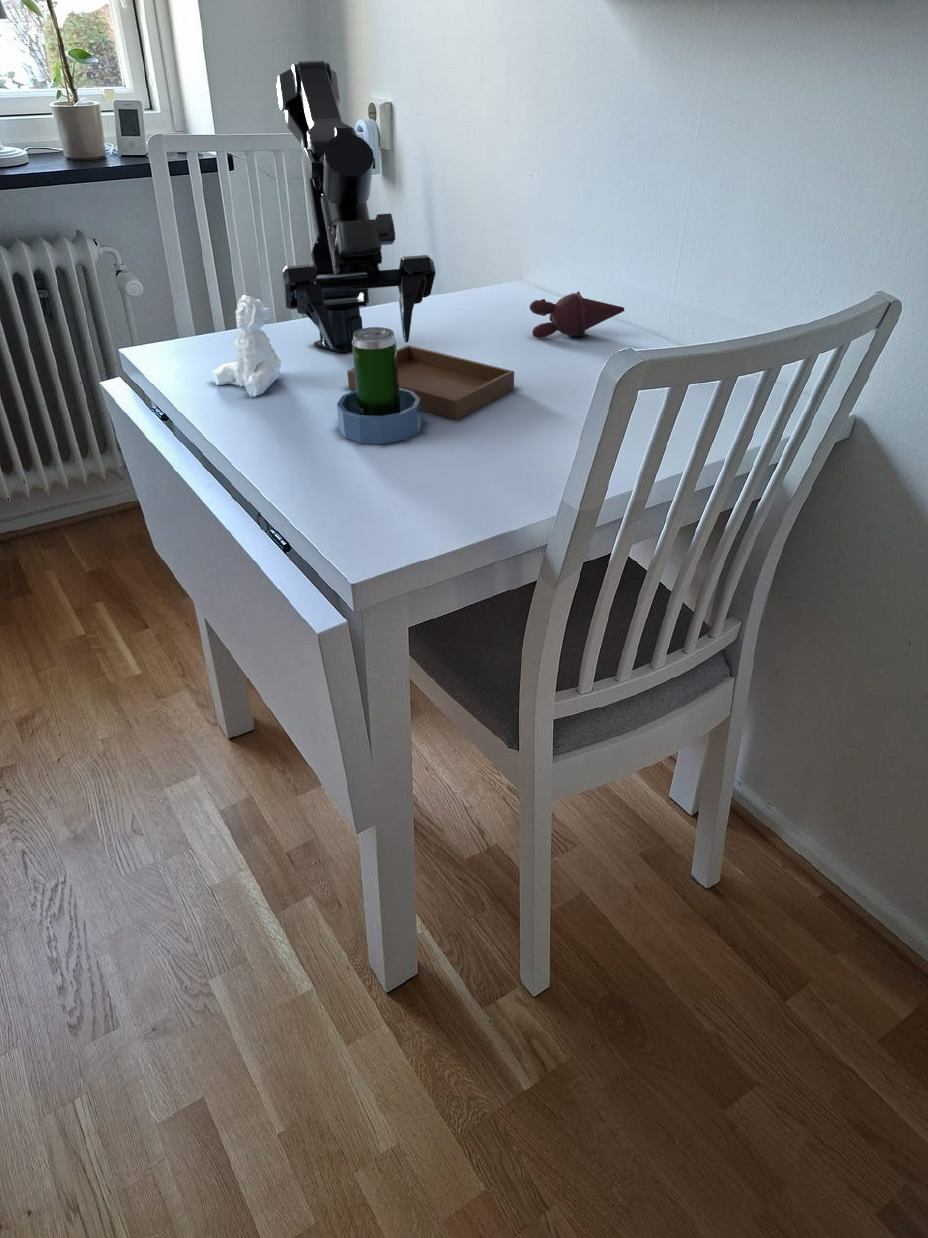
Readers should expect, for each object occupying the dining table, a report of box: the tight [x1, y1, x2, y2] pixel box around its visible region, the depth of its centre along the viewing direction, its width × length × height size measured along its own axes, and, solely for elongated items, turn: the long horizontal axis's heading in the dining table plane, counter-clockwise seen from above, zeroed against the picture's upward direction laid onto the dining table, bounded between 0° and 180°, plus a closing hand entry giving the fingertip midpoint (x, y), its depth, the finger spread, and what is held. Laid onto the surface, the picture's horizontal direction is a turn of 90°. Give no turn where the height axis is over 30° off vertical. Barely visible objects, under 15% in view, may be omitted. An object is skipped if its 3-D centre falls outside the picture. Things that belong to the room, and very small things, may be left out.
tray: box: [346, 344, 515, 421], centre depth 121 cm, size 19×13×3 cm
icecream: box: [529, 290, 625, 339], centre depth 138 cm, size 7×7×15 cm
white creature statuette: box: [211, 295, 282, 398], centre depth 121 cm, size 10×9×12 cm
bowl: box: [336, 388, 422, 445], centre depth 110 cm, size 10×10×4 cm
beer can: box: [352, 326, 401, 416], centre depth 108 cm, size 5×5×12 cm
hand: (370, 344), depth 108 cm, fingers open, 9 cm apart
